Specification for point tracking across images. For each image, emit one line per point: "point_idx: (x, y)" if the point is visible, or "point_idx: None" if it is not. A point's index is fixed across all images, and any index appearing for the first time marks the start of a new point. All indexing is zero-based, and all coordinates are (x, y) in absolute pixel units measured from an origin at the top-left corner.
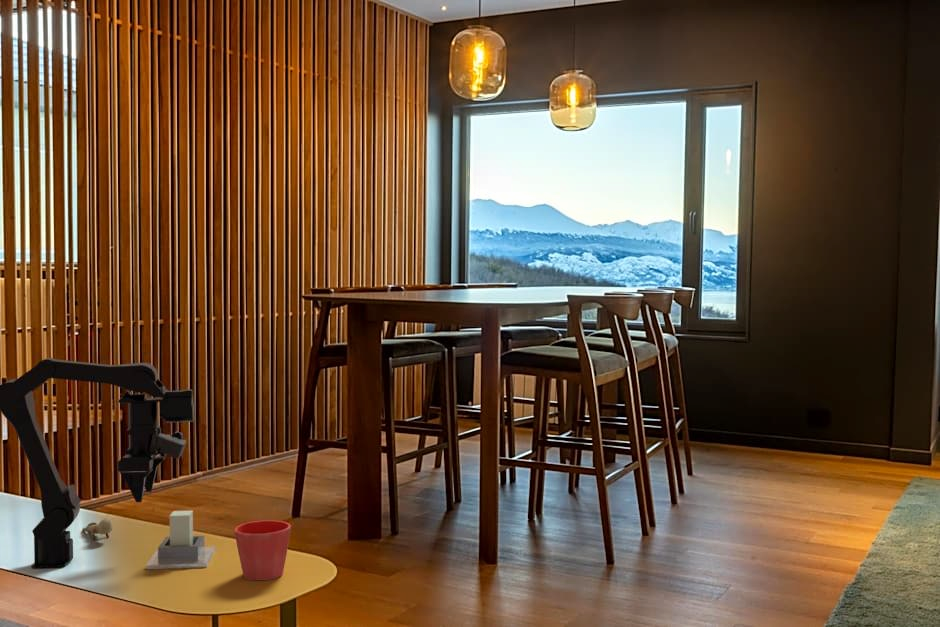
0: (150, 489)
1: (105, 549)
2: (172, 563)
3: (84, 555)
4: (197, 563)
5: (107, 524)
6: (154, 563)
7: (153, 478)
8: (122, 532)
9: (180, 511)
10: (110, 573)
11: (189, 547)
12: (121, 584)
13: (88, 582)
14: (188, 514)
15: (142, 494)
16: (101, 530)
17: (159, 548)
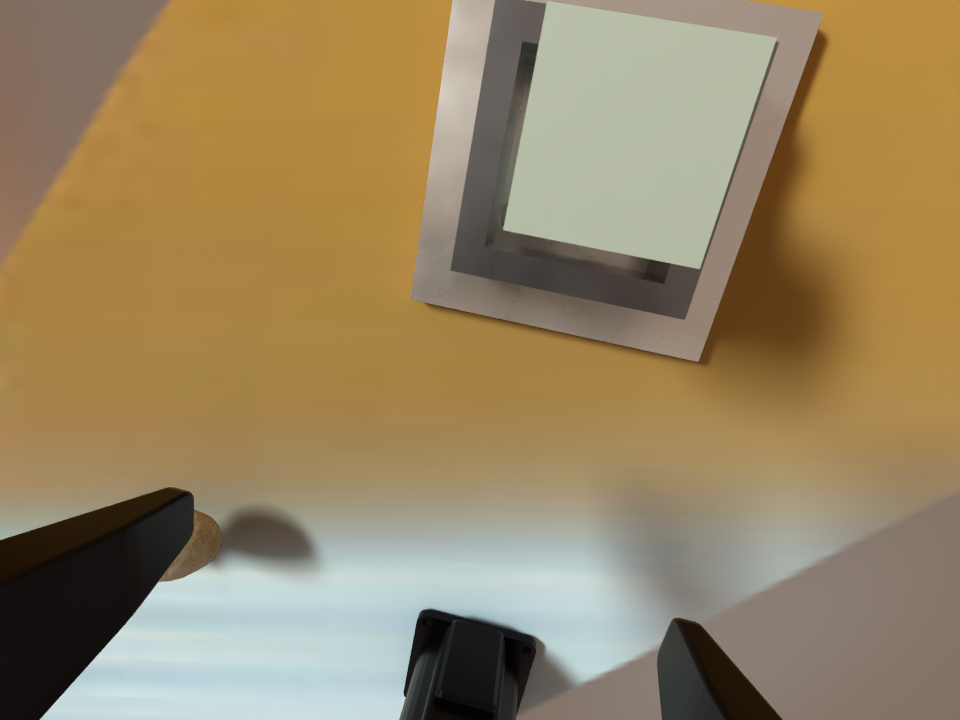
0: (176, 513)
1: (326, 504)
2: (727, 228)
3: (392, 572)
4: (800, 75)
5: (192, 551)
6: (683, 321)
7: (17, 583)
8: (92, 440)
9: (548, 153)
10: (687, 495)
11: (753, 111)
12: (886, 459)
13: (778, 571)
14: (726, 51)
15: (766, 708)
16: (215, 554)
17: (686, 309)
